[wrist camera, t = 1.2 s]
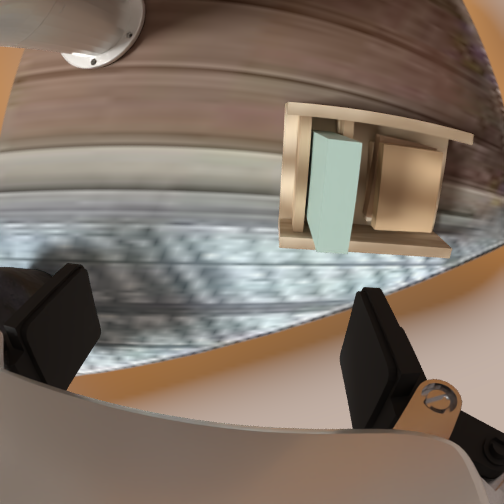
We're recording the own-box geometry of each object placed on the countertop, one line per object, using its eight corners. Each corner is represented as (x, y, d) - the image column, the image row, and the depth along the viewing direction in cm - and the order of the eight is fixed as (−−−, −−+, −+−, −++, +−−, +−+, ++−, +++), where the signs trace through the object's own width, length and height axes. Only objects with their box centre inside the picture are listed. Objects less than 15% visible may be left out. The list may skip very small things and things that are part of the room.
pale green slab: (309, 129, 33) (328, 138, 22) (332, 131, 33) (362, 142, 22) (303, 207, 36) (316, 252, 26) (325, 209, 36) (347, 253, 26)
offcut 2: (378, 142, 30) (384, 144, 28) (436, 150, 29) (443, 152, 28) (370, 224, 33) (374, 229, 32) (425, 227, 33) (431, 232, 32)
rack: (285, 103, 33) (288, 102, 27) (443, 128, 32) (473, 134, 26) (278, 224, 39) (279, 247, 33) (426, 235, 38) (449, 258, 32)
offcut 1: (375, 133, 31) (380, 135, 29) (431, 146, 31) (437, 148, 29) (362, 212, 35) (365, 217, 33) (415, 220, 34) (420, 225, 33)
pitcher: (27, 335, 52) (-37, 420, 29) (-12, 237, 43) (-106, 309, 20) (106, 346, 50) (43, 461, 28) (67, 229, 41) (-51, 329, 19)
